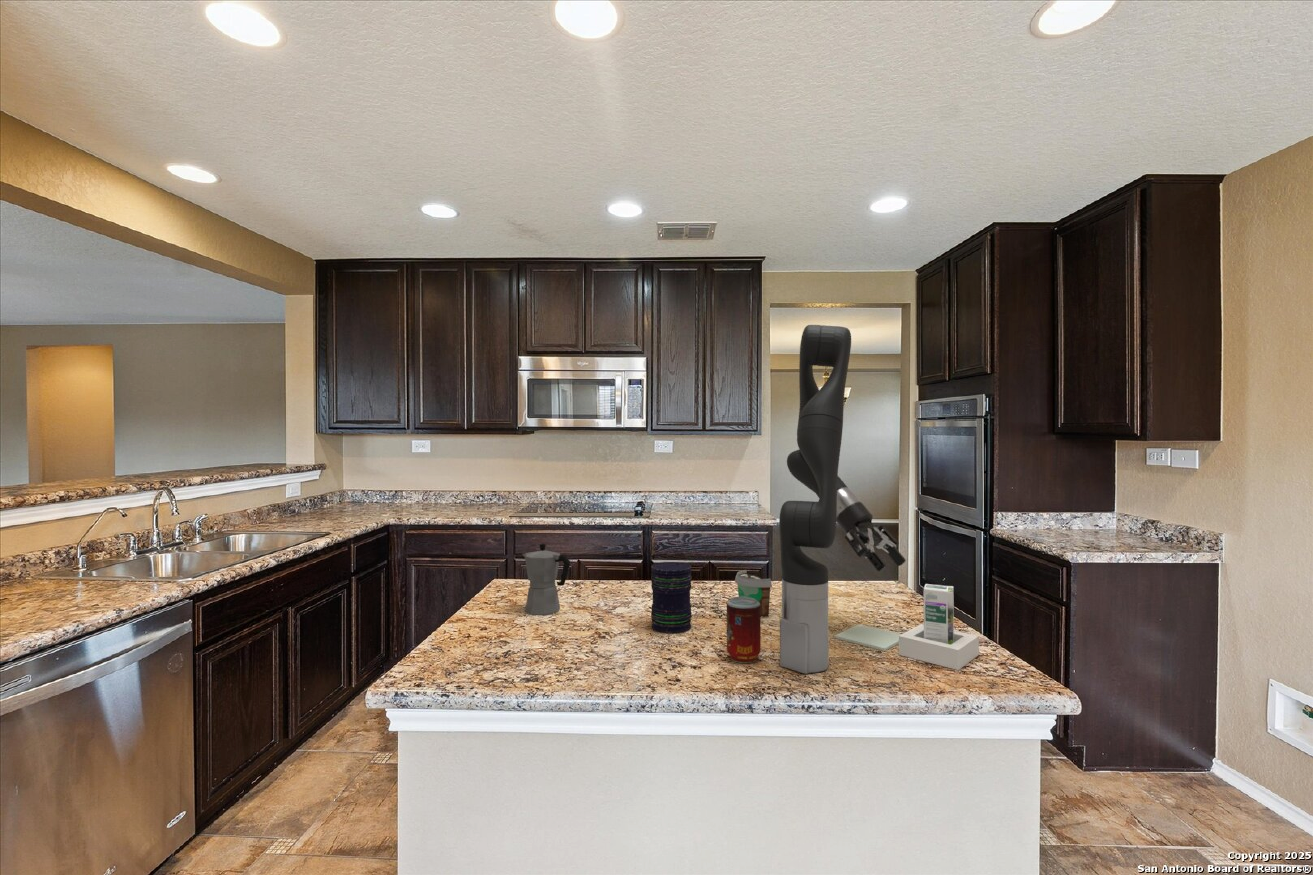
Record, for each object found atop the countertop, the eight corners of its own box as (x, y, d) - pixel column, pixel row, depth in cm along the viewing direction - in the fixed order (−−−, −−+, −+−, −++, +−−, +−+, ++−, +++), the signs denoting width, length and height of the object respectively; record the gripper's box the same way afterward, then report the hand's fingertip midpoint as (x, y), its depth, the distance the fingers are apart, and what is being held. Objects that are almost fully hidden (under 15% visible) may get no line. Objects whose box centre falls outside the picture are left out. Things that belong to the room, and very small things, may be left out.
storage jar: (675, 636, 140) (675, 572, 140) (642, 628, 146) (642, 567, 146) (699, 626, 148) (699, 565, 148) (667, 618, 154) (667, 560, 154)
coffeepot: (511, 612, 160) (511, 544, 160) (534, 603, 169) (534, 539, 169) (558, 620, 153) (558, 549, 153) (580, 610, 162) (579, 543, 161)
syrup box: (923, 657, 127) (923, 588, 127) (925, 648, 132) (925, 582, 132) (953, 661, 124) (953, 591, 124) (954, 652, 130) (954, 585, 130)
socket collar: (958, 670, 120) (958, 649, 120) (898, 654, 128) (898, 635, 128) (978, 654, 128) (978, 635, 128) (921, 641, 137) (921, 623, 137)
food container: (726, 608, 163) (726, 571, 163) (745, 605, 166) (745, 569, 166) (751, 621, 152) (751, 581, 152) (772, 617, 155) (771, 578, 155)
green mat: (885, 651, 130) (885, 648, 130) (834, 638, 139) (834, 635, 139) (908, 638, 139) (908, 635, 139) (859, 626, 147) (859, 624, 147)
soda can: (723, 652, 130) (723, 595, 130) (755, 651, 130) (756, 594, 130) (730, 665, 123) (730, 604, 123) (764, 664, 123) (764, 604, 123)
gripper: (840, 502, 138) (887, 560, 130) (874, 498, 148) (919, 552, 139) (821, 523, 143) (864, 580, 134) (854, 518, 152) (898, 571, 143)
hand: (892, 566), depth 136 cm, fingers open, 8 cm apart
